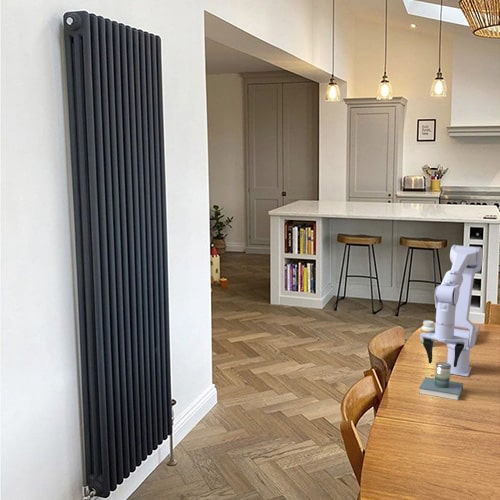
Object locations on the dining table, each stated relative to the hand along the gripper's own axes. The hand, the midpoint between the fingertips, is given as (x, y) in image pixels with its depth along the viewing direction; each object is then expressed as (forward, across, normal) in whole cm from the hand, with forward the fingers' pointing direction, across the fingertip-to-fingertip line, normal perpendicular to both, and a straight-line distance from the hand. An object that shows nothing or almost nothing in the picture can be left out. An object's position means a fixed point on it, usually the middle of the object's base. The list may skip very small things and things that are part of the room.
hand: (442, 364), depth 198 cm
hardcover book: (+10, 0, 0) cm, 10 cm away
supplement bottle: (+10, -13, +46) cm, 49 cm away
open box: (+9, -5, +63) cm, 64 cm away
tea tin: (+7, 0, 0) cm, 7 cm away
